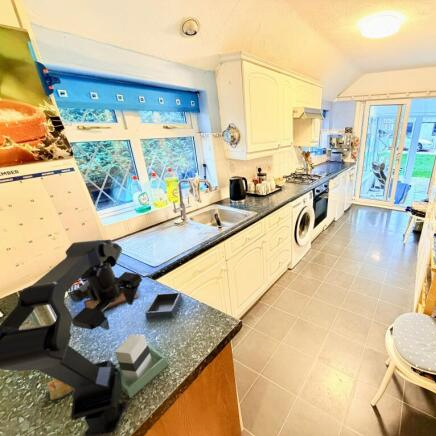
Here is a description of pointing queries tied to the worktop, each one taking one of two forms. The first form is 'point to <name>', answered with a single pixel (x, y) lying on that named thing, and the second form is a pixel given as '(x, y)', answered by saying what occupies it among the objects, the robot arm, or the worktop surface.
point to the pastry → (58, 389)
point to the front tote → (157, 366)
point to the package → (134, 357)
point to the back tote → (163, 305)
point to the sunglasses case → (116, 302)
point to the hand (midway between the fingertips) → (119, 316)
